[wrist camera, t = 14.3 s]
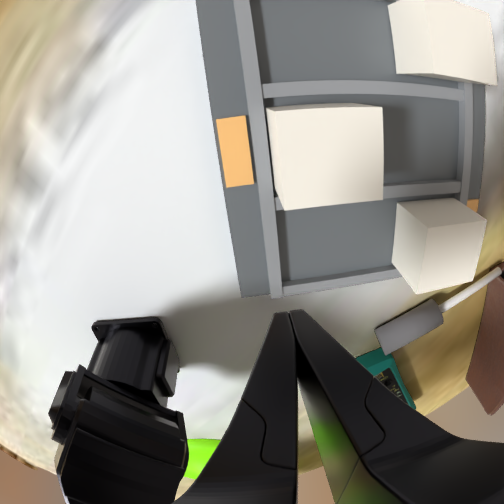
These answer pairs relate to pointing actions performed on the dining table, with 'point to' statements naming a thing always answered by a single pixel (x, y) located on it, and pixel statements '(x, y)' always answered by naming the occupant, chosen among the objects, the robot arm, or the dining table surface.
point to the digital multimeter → (386, 373)
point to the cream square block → (443, 41)
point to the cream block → (326, 153)
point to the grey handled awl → (423, 318)
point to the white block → (437, 243)
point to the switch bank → (319, 92)
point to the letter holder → (490, 349)
